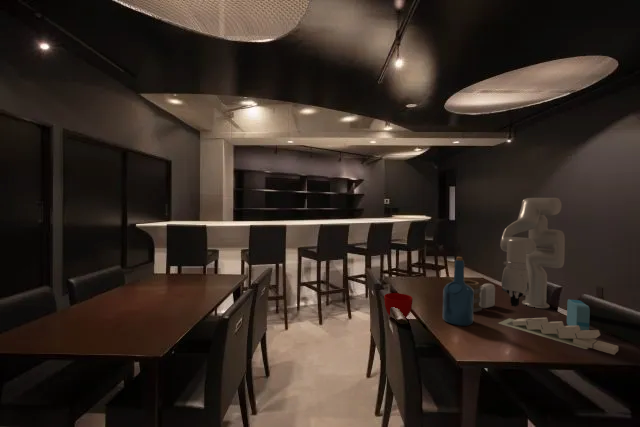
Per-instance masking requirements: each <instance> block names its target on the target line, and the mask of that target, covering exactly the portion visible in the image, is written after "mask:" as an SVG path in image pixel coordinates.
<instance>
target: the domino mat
mask: <svg viewBox="0 0 640 427" xmlns="http://www.w3.org/2000/svg"><path fill="white" fill-rule="evenodd" d="M514 320H515V318H514V319H513V318H507V319H503V321H500V322H497V324H499V325H503V326H505V327H509V328H512V329H515V330H520V331H523V332H526V333H529V334H533V335H537V336H539V337H542V338H546V339H550V340H553V341H556V342H560V343H562V344H563V343H564V344H568V345H570V346H574V347H577V348H580V349H584V350H588V349H590V348H589V347H586V346H582V345H579V344H575V343H573V338H559V336H558V334H542V332H541V329H532V330H527V327H526V325H518V326H513V323H512V321H514Z"/></svg>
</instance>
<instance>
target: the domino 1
mask: <svg viewBox="0 0 640 427" xmlns="http://www.w3.org/2000/svg"><path fill="white" fill-rule="evenodd" d="M547 322H549V319H548V317H534V318H533V317H531V318H530V317H529V318H517V319H514V321H512V323H513V326H518V325H544V324H545V323H547Z"/></svg>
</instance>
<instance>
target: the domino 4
mask: <svg viewBox="0 0 640 427" xmlns="http://www.w3.org/2000/svg"><path fill="white" fill-rule="evenodd" d="M558 336H559V338H591V339H597V338H598V337H600V336H601V332H600V330H599V329H589V330H580V331H579V332H577V333H565V334H558Z"/></svg>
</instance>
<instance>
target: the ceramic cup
mask: <svg viewBox="0 0 640 427" xmlns="http://www.w3.org/2000/svg"><path fill="white" fill-rule="evenodd" d="M383 297H384V307H385V311H386V314H388V315H390V308H391V307H395V308H398V309H400V311H401V312H402V313H403V315H404V316H405V317H406V318H407V317H409V315H410V313H411V311H412V307H413V300H414V299H413V296H411V295H408V294H406V293H405V294H404V293H400V292H399V293H398V292H389V293H386V294H385V295H384V296H383Z"/></svg>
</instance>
